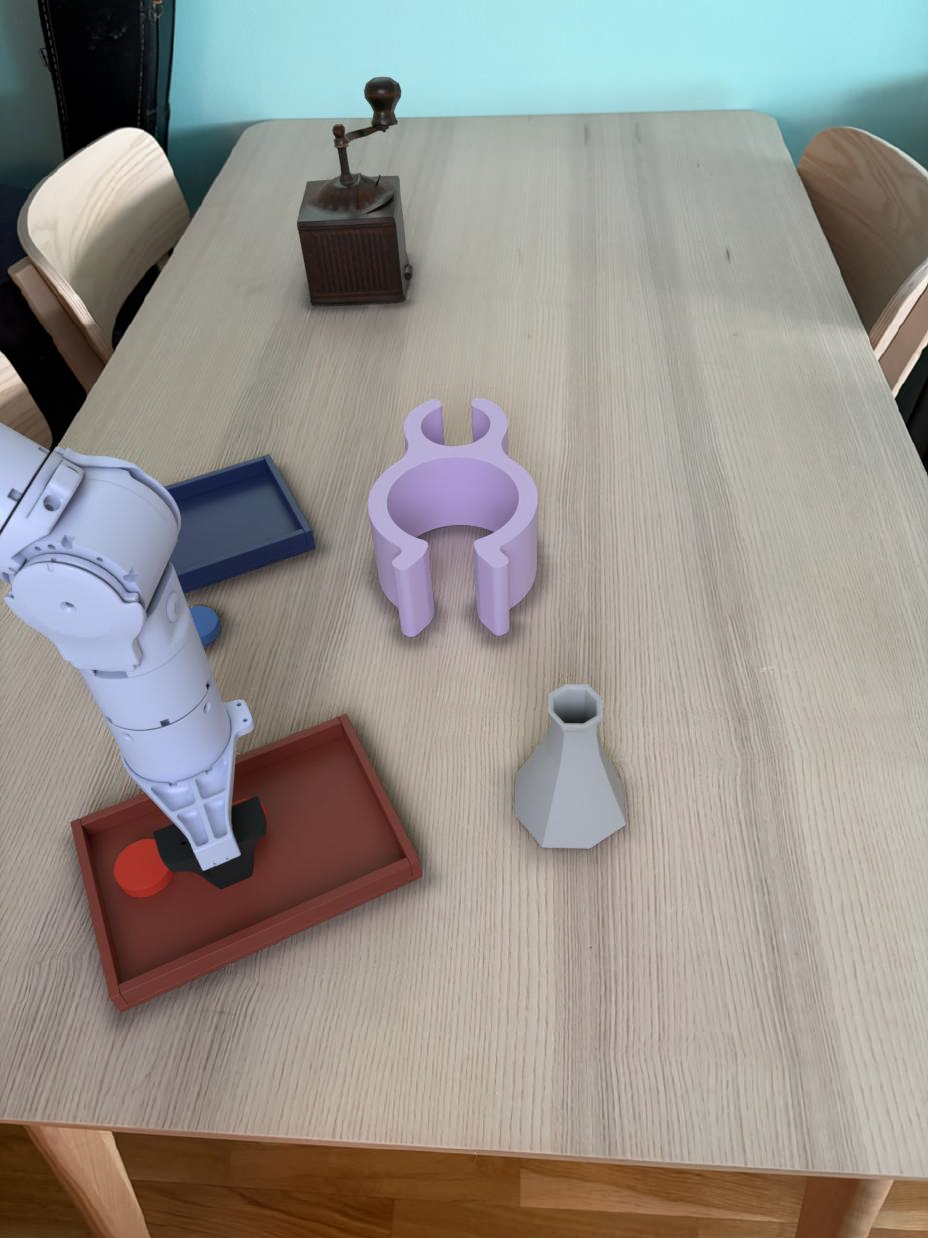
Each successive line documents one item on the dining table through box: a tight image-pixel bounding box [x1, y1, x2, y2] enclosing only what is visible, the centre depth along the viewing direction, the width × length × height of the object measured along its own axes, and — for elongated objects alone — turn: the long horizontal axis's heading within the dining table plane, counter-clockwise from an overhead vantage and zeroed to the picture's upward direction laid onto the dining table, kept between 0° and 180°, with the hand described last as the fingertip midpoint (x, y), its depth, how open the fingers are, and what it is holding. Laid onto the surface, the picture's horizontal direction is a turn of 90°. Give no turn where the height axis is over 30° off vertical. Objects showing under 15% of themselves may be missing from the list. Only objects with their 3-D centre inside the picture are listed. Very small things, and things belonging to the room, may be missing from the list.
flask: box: [513, 683, 627, 850], centre depth 58 cm, size 7×7×10 cm
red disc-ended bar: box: [114, 798, 268, 897], centre depth 59 cm, size 10×3×2 cm, turn 115°
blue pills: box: [189, 605, 222, 647], centre depth 71 cm, size 10×3×2 cm, turn 116°
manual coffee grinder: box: [296, 76, 414, 307], centre depth 103 cm, size 16×11×18 cm
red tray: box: [70, 713, 423, 1013], centre depth 59 cm, size 18×12×2 cm
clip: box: [367, 397, 539, 638], centre depth 76 cm, size 20×12×7 cm, turn 179°
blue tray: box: [163, 453, 317, 594], centre depth 79 cm, size 17×11×2 cm, turn 115°
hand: (217, 826), depth 59 cm, fingers open, 7 cm apart
